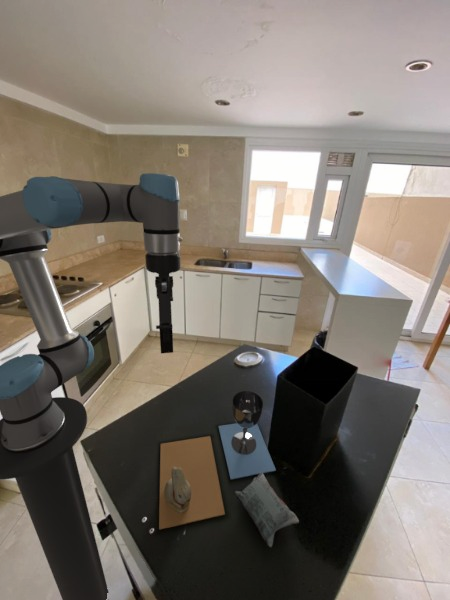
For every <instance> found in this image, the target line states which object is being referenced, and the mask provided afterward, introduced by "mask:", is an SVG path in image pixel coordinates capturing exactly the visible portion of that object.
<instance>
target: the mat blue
mask: <svg viewBox="0 0 450 600" xmlns="http://www.w3.org/2000/svg"><path fill="white" fill-rule="evenodd" d="M217 426H218V431H219V435H220V439H221V444H222V449H223V454H224V458H225V461H226V466H227V471H228V475H229V478H230V480H236V479H241V478H248V477H252V476H256V475H257V476H258V475H259V474H260V473H261V471H263V474H268V473H273V472H276V471H277V468H276V467H275V464H274V461H273V460H272V457H271V454H270V451H269V449H268V447H267V445H266V442H265V440H264V439H265V438H264V437H263V434H262V432H261V430H260V427H259V424H258V423H257V424H256V425H255V426H253V427H251V428H248V430H247V433H249V434H250V435H252V436H253V437H254V439H255V440H256V449H255V450H254V452H252V453H251V454H248V455H243V454H239V453H238V452H236V451H235V450H234V449H233V447H232V444H231V441H232V438H233V436H234V435H235V434H237V433H240V432H243V428H242V427H241V426H239V425H238V424H237V423H236V422H235V423H230V424H223V425H217Z"/></svg>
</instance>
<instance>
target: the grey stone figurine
mask: <svg viewBox="0 0 450 600" xmlns="http://www.w3.org/2000/svg"><path fill="white" fill-rule="evenodd" d="M165 499H166V501H167V503H168V505H169V507H170V508H171V509H172V510H174V511H176V512H177V513H185V512H186V511H187V510H188V508H189V504H190V503H189V502H190V499H191V487H190V485H189V483H188V481H187V480H186V479H185V476H184V473H183V471H182V469H181V468H179V467H178V468H176V467H173V468H172V479H170V480H169V481H168V482H167V483H166V486H165Z"/></svg>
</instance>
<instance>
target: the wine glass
mask: <svg viewBox="0 0 450 600" xmlns="http://www.w3.org/2000/svg"><path fill="white" fill-rule="evenodd" d="M263 407H264V402H263V399H262V397H261V396H260V395H259V394H257V393H255V392H254V391H248V390H243V391H239V392H238V393H236V394H234V396H233V398H232V408H231V409H232V416H233V419H234V421H235V423H237V424H238V425H239V426H241V427H242V428H243V432H240V433H237V434H235V435H234V436H233V438H232V441H231V444H232V447H233V449H234V450H235V451H236V452H238V453H239V454H243V455H248V454H251V453H252V452H254V450H255V449H256V440H255V439H254V437H253V436H252V435H250V434H249V433H247V430H248V428H251V427H253V426H255V425H256V424H257V425H258V423H259V421H260V420H261V416H262V414H263V409H264V408H263Z"/></svg>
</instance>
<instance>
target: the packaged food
mask: <svg viewBox="0 0 450 600" xmlns="http://www.w3.org/2000/svg"><path fill="white" fill-rule="evenodd" d="M234 494H235V496H236V498H237V500H238V501H239V503H240V504H241V506H242V507H243V509H244V510H245V511H246V513H247V515H248V516H249V517H250V518H251V520H252V522H253V524H254V525H255V527H256V528H257V531H258V533H259V534H260V536H261V537H262V539H263V541H264V542H265V543H266V545H267V546H268V547H270V548H272V547H273V545H274V538H275V534H276V532H277V531H279V530H280V529H283V528H286V527H288V526H291V525H294V524H295V525H296V524H299V522H300V520H299V518H298V517H297V515H296V513H294V511H292V510H290V508H289V507H288V506H287V504H286V503H285V502H284V501H283V500H282V499H281V498H280V497H279V496H278V494H277V493H276V492H275V490H274V488H273V487H272V486H271V485H270V483H269V481H268V479H267V478H266V477H265V473H263V471H261V473H260V474H257V476H255V477H254V478H253V479H252V481H251V482H250V484H248V485H247V486H246V487H245V488H244V489H243V490H242V491H238V490H235V491H234Z"/></svg>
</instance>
